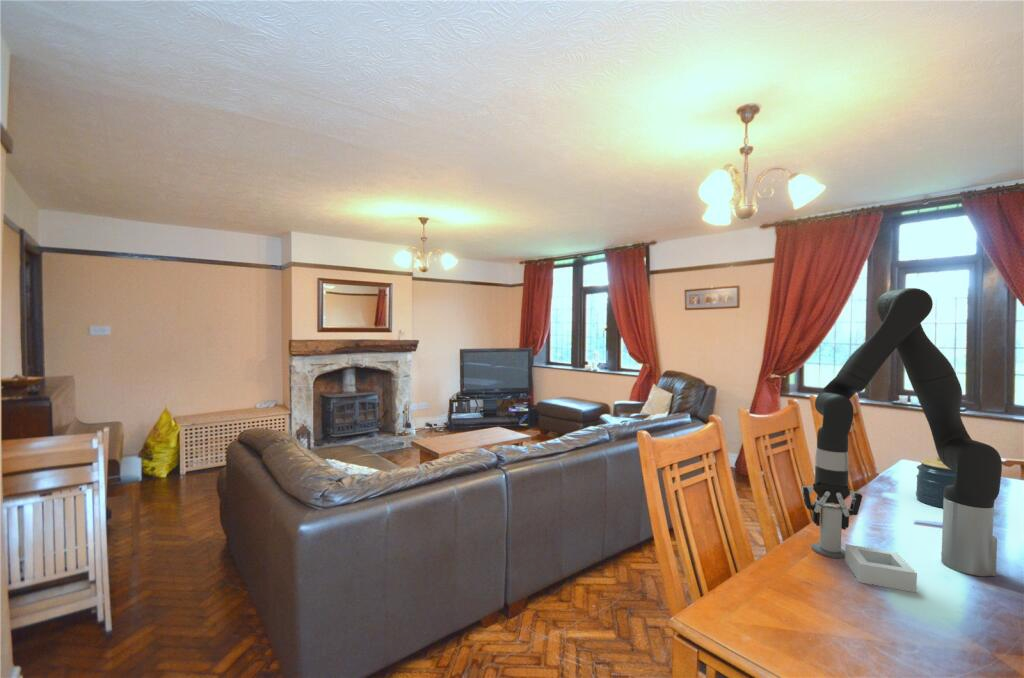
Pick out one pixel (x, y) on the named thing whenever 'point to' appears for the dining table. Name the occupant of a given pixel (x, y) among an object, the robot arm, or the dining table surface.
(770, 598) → the dining table surface
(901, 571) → the pocket block
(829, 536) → the beverage can
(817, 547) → the coaster
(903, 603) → the dining table surface
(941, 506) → the canister
